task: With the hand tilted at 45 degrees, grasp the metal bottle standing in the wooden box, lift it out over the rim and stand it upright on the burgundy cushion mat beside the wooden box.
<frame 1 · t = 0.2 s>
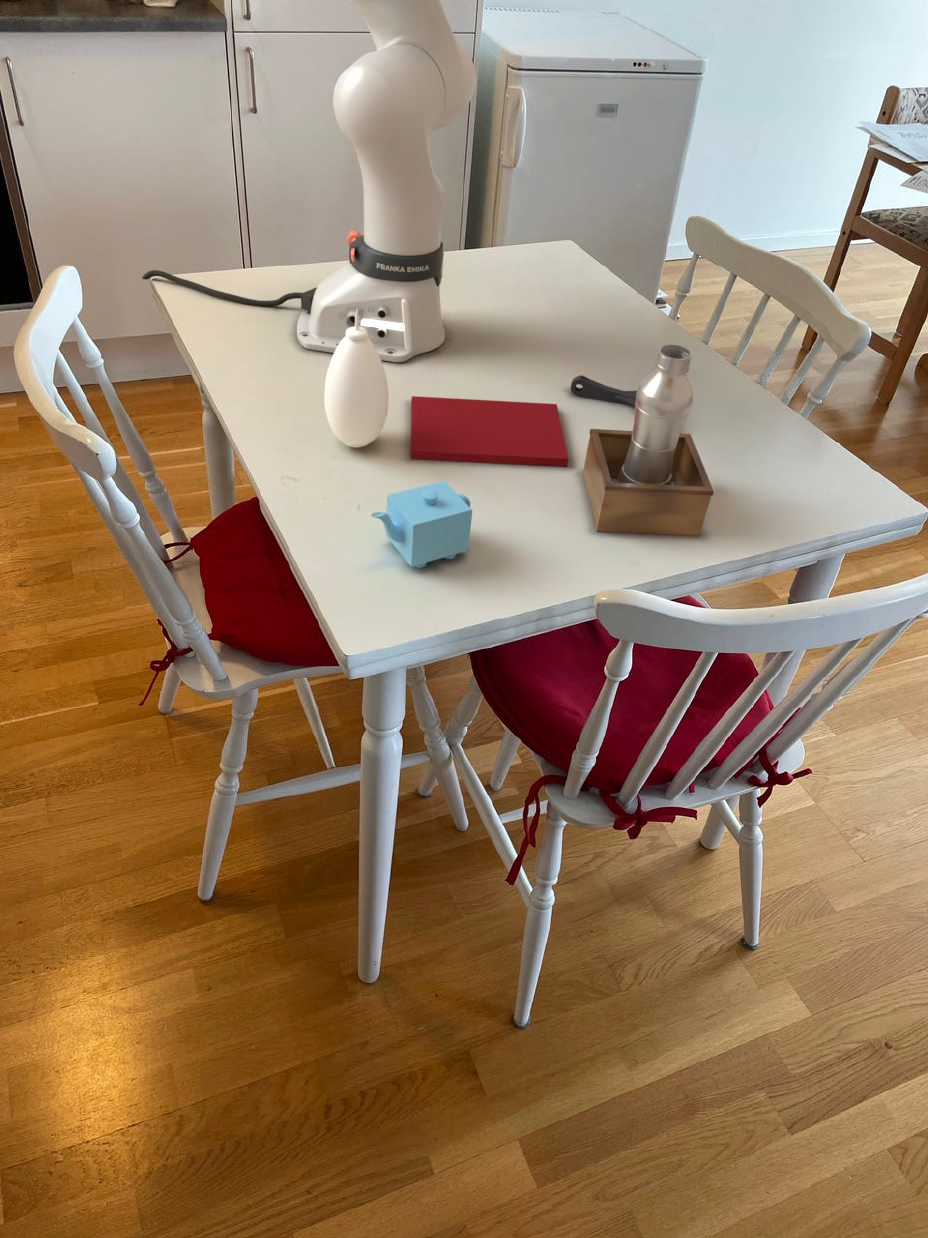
white air blower bulb: (356, 444, 123), on the table
cushion mat: (486, 434, 127), on the table
squeegee: (621, 402, 137), on the table
metal bottle: (638, 504, 118), resting in wooden box
teapot: (419, 553, 107), on the table
wooden box: (638, 503, 118), on the table
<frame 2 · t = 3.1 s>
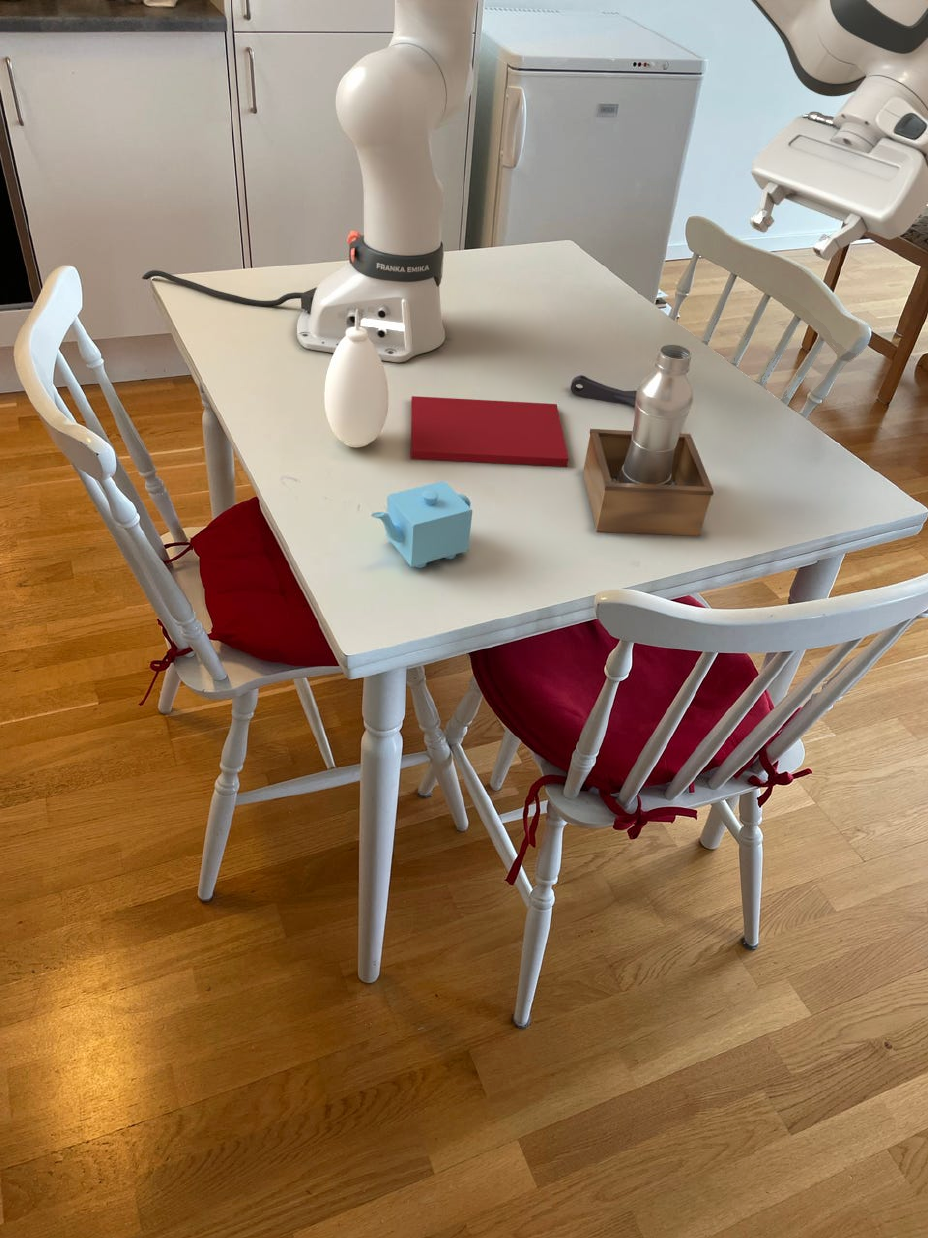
hand: (787, 241, 103), 30 cm above the table, tool tilted 40°, fingers open, 8 cm apart
nothing on the table moved.
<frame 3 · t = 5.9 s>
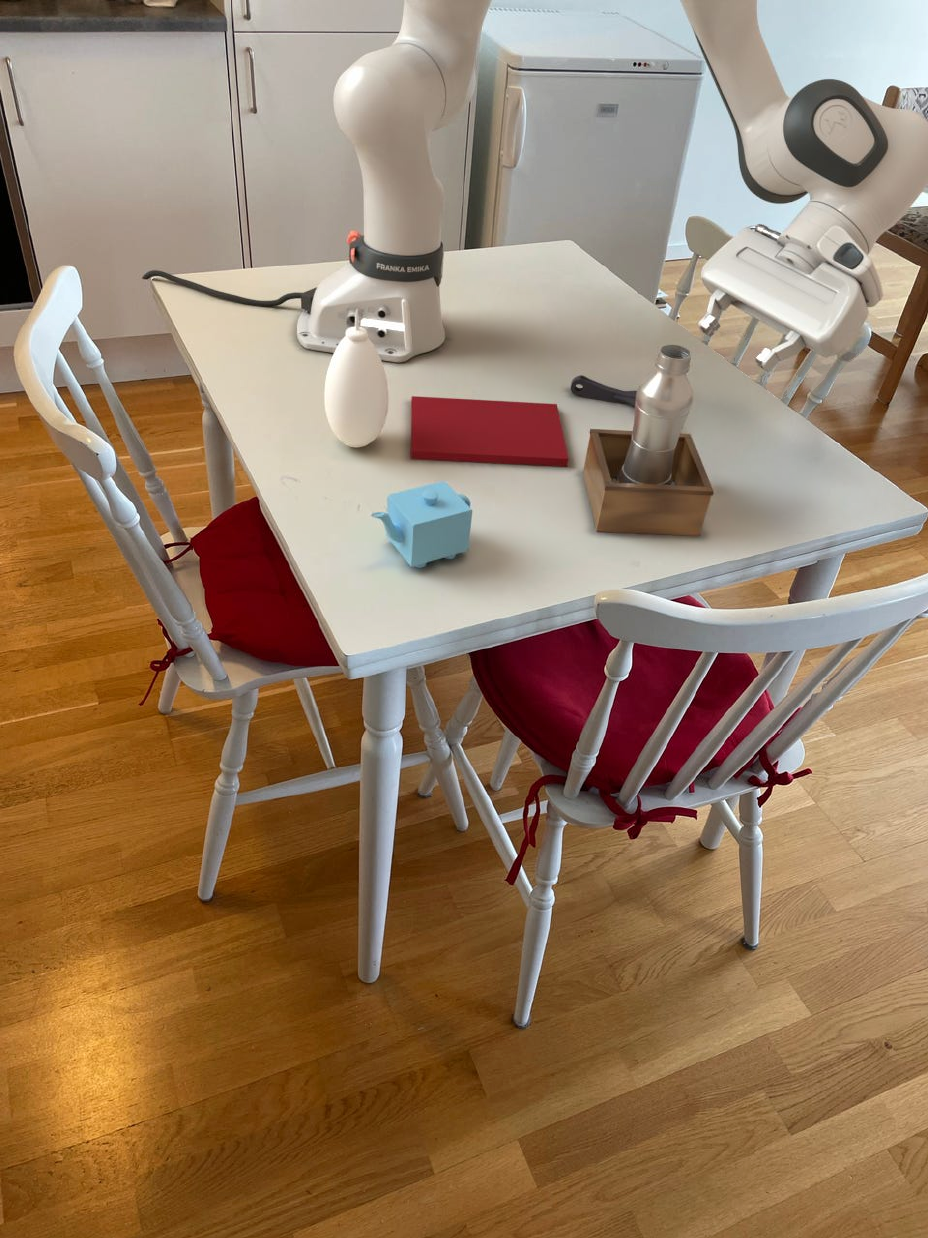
hand: (731, 348, 109), 19 cm above the table, tool tilted 45°, fingers open, 8 cm apart
nothing on the table moved.
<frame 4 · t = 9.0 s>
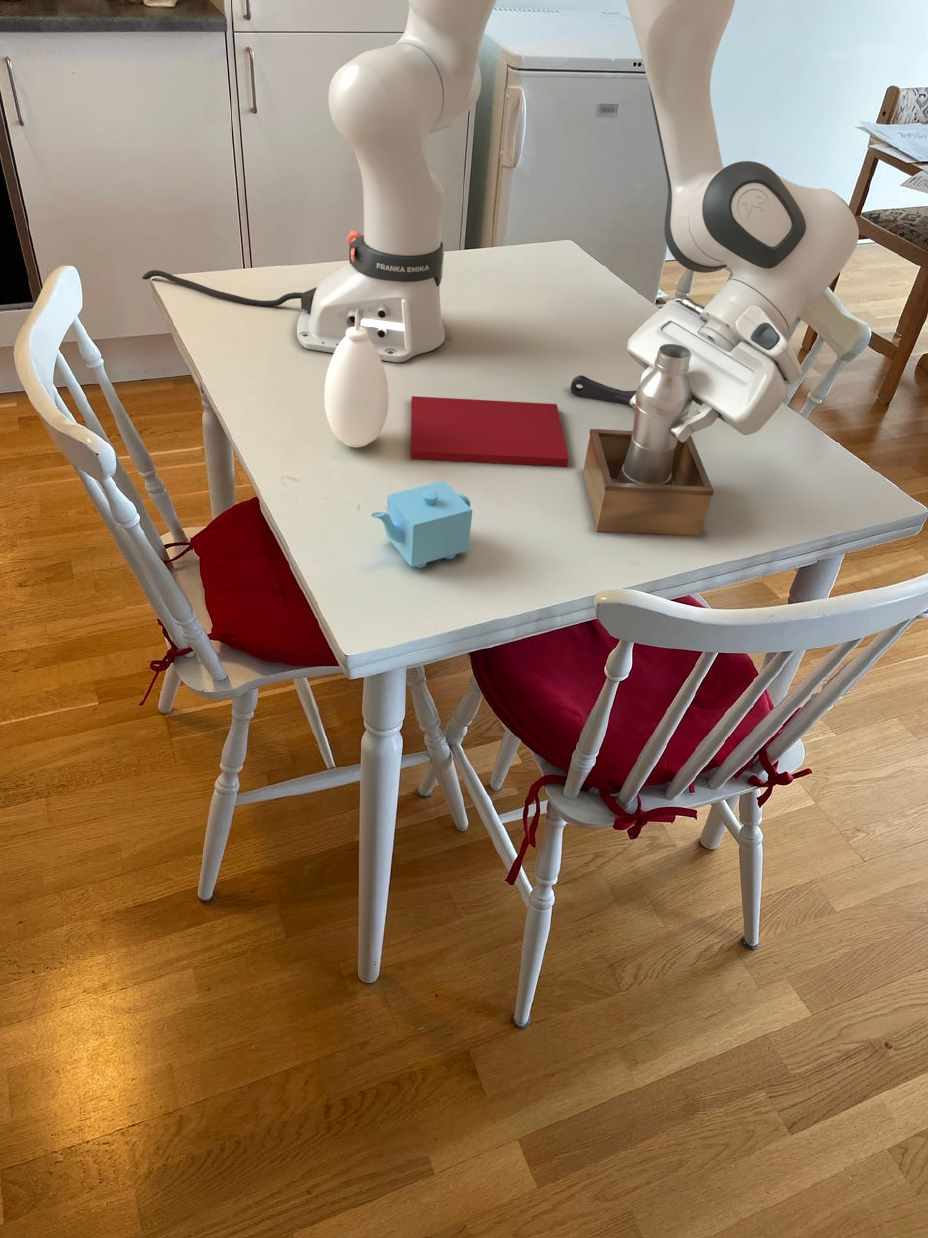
hand: (655, 422, 110), 11 cm above the table, tool tilted 45°, fingers closed on metal bottle, 6 cm apart
metal bottle: (638, 504, 118), resting in wooden box, touching gripper
everything else where it was.
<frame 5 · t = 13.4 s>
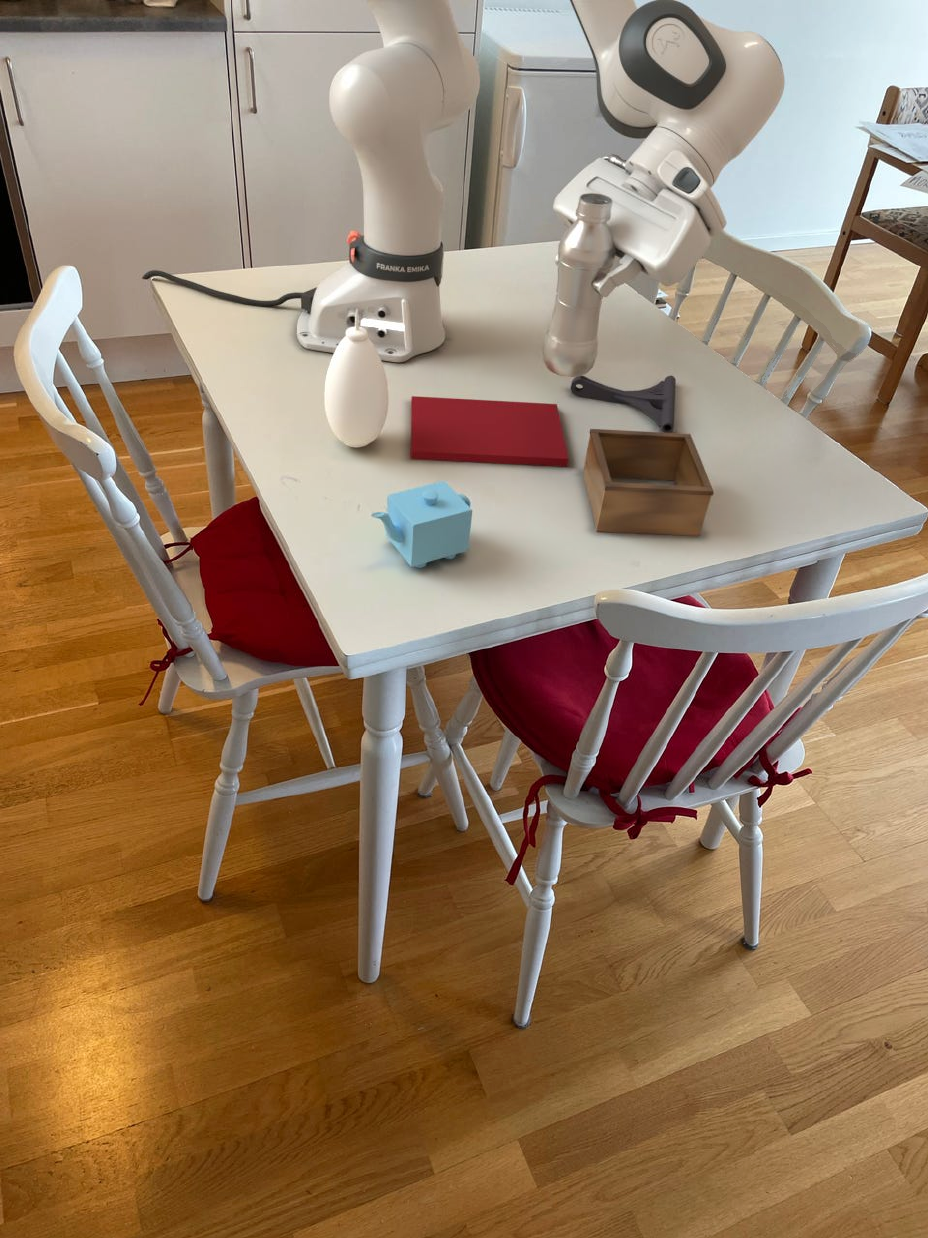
hand: (578, 279, 107), 24 cm above the table, tool tilted 45°, fingers closed on metal bottle, 6 cm apart
metal bottle: (566, 372, 115), point 12 cm above the table, touching gripper
everything else where it was.
when the fingers open (12 cm above the table, at t = 18.2 s): metal bottle stays where it is, resting on cushion mat.
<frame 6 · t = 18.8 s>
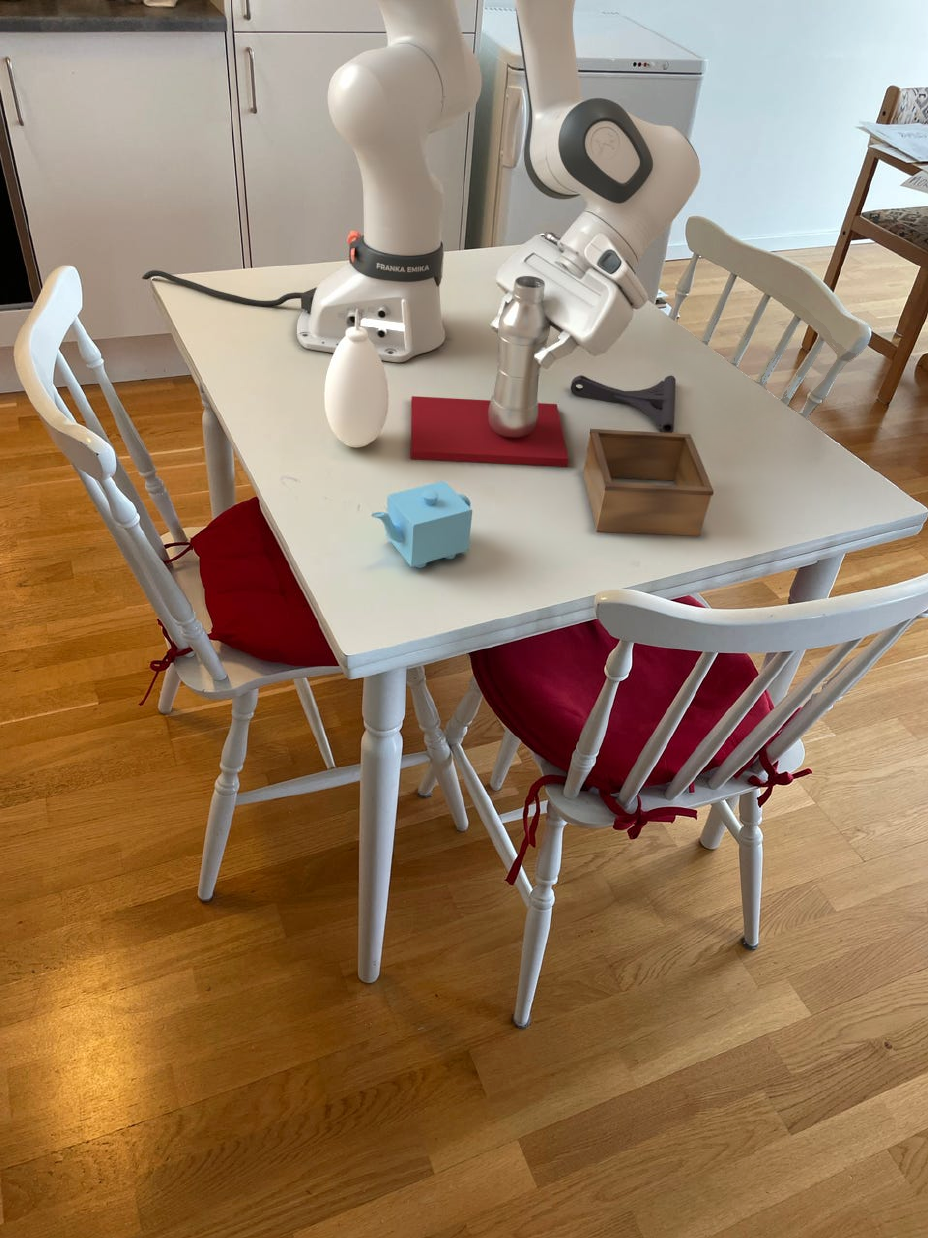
hand: (517, 347, 118), 13 cm above the table, tool tilted 45°, fingers open, 8 cm apart
metal bottle: (510, 432, 126), point 1 cm above the table, touching cushion mat
everything else where it was.
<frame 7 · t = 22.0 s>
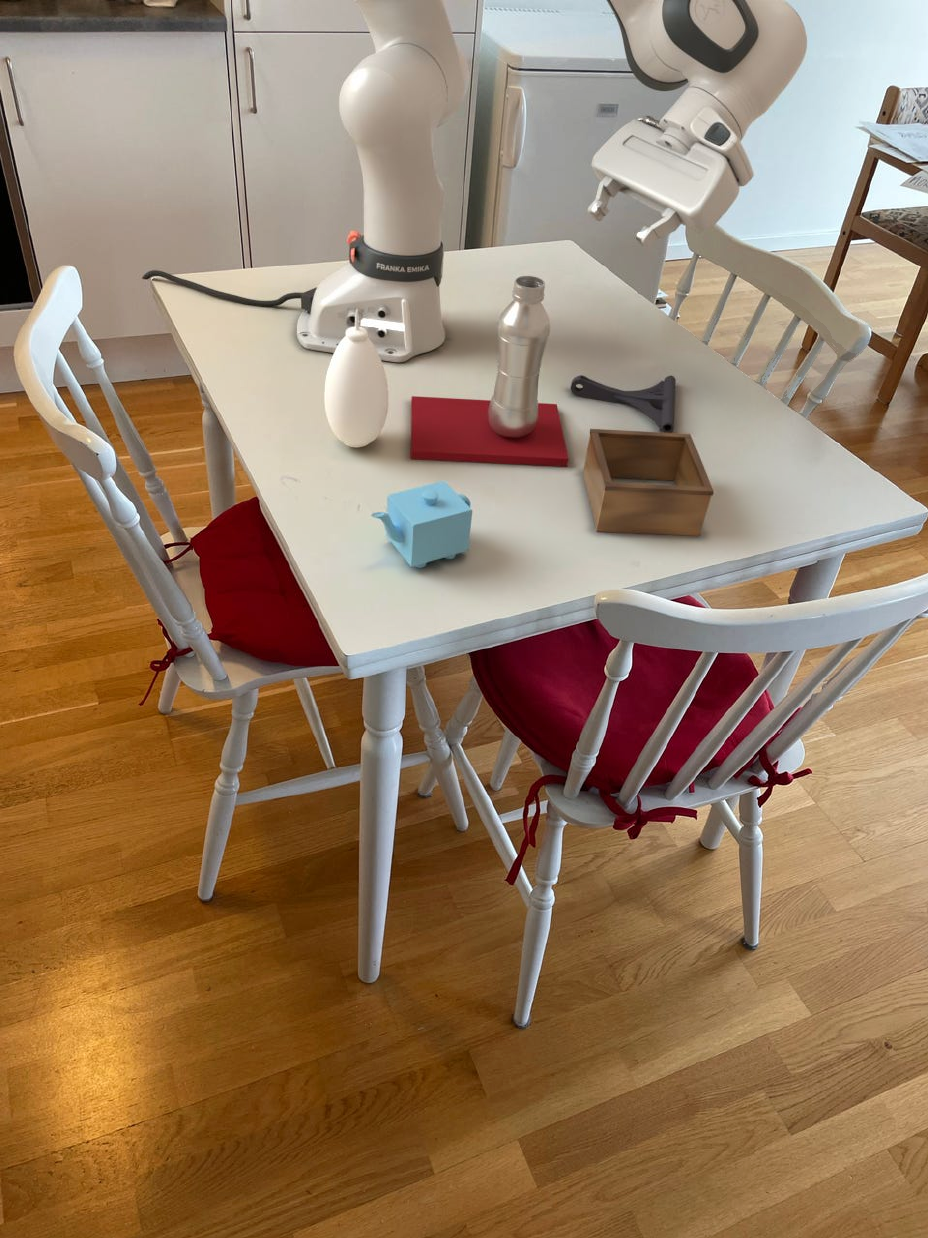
hand: (616, 229, 116), 25 cm above the table, tool tilted 45°, fingers open, 8 cm apart
nothing on the table moved.
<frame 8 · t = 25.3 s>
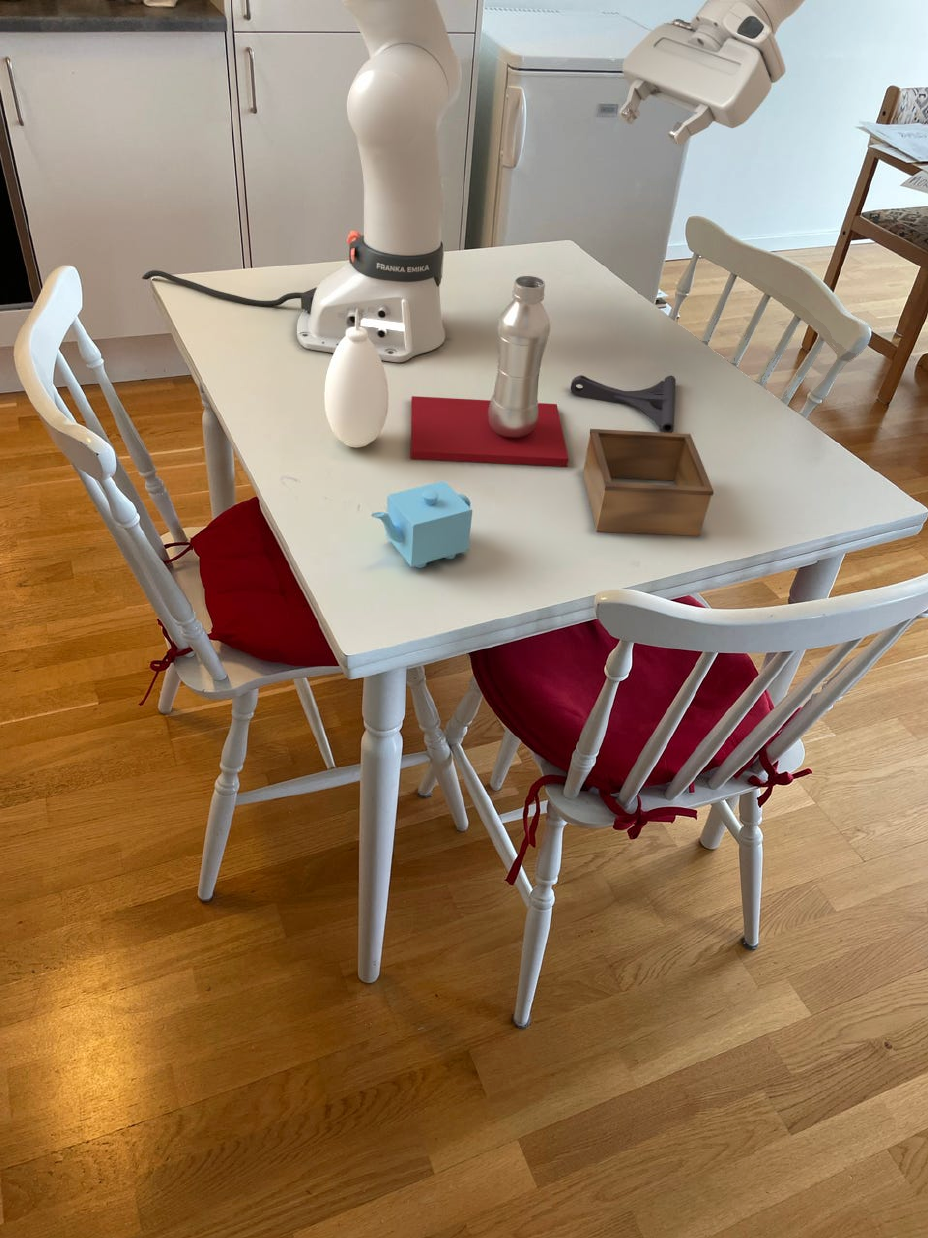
hand: (648, 129, 117), 34 cm above the table, tool tilted 45°, fingers open, 8 cm apart
nothing on the table moved.
at the end: metal bottle inside the target area on the cushion mat (2.7 cm from its centre), point 1.0 cm above the cushion mat's base; metal bottle tilted 0°; metal bottle touching cushion mat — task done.
